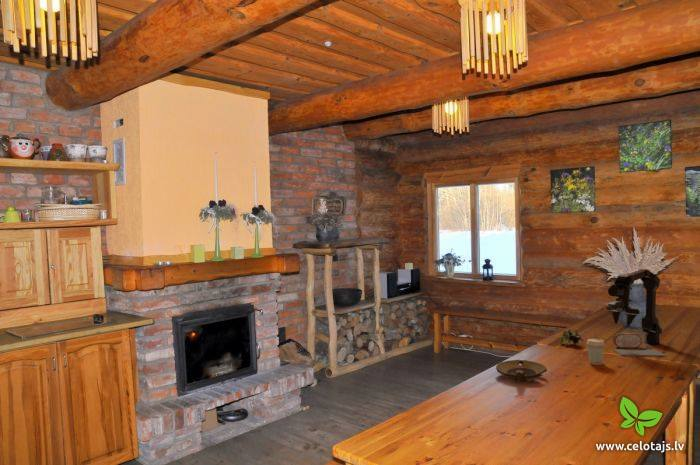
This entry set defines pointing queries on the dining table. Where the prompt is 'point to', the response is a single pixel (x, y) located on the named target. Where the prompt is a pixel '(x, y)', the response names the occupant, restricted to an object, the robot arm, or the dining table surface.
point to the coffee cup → (595, 351)
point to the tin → (627, 340)
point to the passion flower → (570, 337)
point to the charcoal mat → (638, 352)
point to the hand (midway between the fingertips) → (621, 325)
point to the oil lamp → (521, 369)
